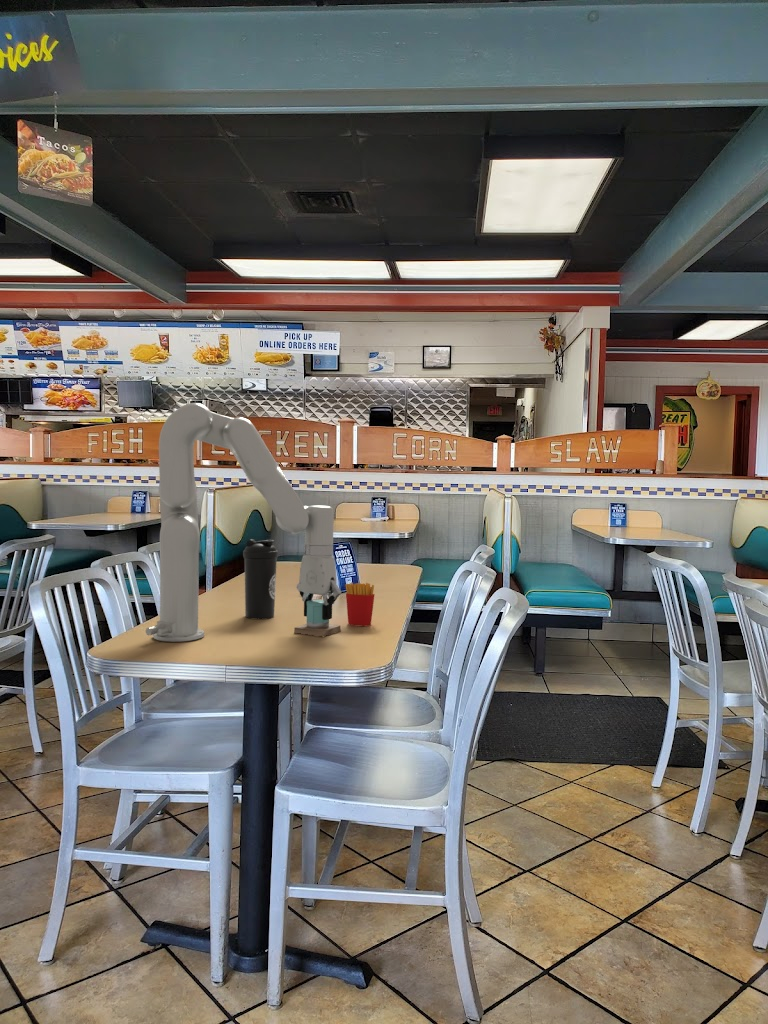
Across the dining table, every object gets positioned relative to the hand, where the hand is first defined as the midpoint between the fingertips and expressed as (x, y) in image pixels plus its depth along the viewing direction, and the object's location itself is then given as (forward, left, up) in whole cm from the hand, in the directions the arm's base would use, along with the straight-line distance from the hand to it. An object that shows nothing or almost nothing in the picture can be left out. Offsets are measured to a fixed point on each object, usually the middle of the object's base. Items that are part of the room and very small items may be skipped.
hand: (317, 616), depth 192 cm
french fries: (+15, -4, -4) cm, 16 cm away
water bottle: (+10, +26, -4) cm, 28 cm away
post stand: (0, 0, -4) cm, 4 cm away
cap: (0, 0, -1) cm, 1 cm away
